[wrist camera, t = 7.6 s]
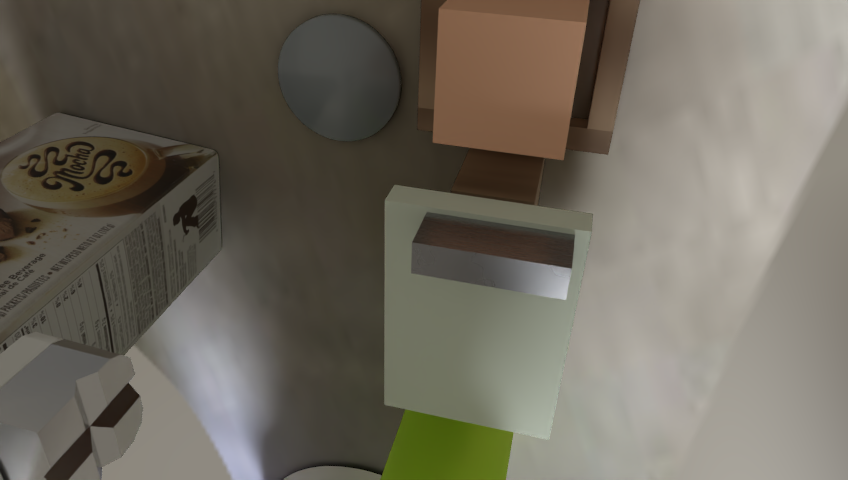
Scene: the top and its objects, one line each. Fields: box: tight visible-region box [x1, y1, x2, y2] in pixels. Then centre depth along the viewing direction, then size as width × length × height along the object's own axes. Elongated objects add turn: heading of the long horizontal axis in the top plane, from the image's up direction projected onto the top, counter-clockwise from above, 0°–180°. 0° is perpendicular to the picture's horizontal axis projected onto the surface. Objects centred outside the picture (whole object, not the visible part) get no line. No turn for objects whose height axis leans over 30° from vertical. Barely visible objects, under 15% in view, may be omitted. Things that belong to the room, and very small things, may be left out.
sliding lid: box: [384, 185, 593, 440], centre depth 24 cm, size 10×7×3 cm
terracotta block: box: [433, 0, 590, 160], centre depth 23 cm, size 4×4×6 cm
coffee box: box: [0, 113, 222, 356], centre depth 28 cm, size 9×6×16 cm
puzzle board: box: [417, 0, 640, 206], centre depth 26 cm, size 18×8×6 cm, turn 178°
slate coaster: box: [278, 14, 402, 141], centre depth 28 cm, size 6×6×1 cm
